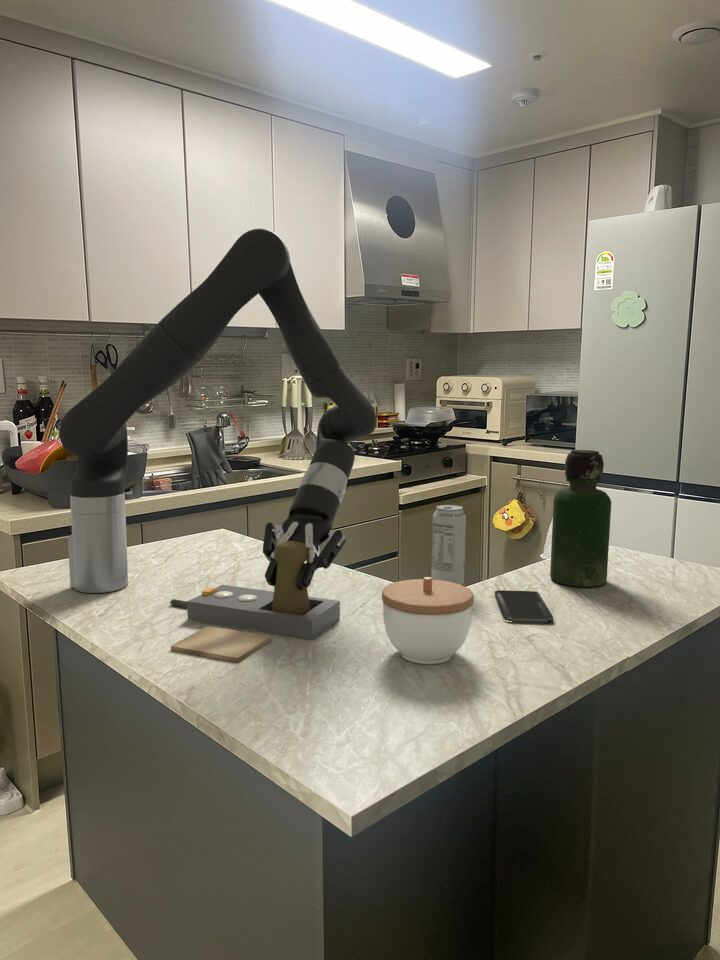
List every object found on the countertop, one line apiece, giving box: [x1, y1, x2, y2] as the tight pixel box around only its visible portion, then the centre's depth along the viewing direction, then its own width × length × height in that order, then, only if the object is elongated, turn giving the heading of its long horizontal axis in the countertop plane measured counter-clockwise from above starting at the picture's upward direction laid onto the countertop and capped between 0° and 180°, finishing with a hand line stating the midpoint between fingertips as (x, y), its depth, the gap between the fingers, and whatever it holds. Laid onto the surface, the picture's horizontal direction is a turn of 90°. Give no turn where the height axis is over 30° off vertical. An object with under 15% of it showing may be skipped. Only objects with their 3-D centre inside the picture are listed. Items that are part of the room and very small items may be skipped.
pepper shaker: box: [271, 541, 310, 616], centre depth 110 cm, size 6×6×11 cm
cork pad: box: [170, 625, 272, 663], centre depth 102 cm, size 11×9×1 cm
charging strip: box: [169, 584, 341, 641], centre depth 114 cm, size 29×10×4 cm, turn 68°
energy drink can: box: [430, 504, 467, 586], centre depth 131 cm, size 6×6×15 cm
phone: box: [494, 589, 554, 625], centre depth 120 cm, size 8×1×15 cm
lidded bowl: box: [381, 576, 474, 665], centre depth 99 cm, size 13×13×11 cm
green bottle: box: [549, 449, 612, 588], centre depth 135 cm, size 10×10×25 cm
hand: (285, 585), depth 109 cm, fingers closed on pepper shaker, 4 cm apart
